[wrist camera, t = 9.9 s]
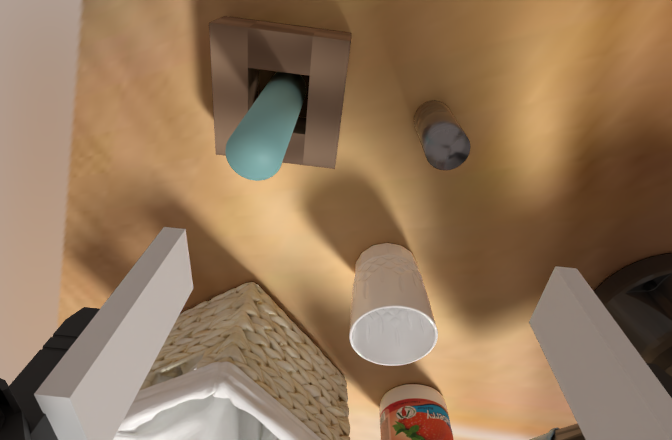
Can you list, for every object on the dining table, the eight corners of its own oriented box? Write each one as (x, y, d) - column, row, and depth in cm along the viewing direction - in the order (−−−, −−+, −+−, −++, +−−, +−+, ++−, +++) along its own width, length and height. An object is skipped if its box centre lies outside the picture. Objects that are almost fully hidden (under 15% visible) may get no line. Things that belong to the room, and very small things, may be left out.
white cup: (349, 238, 43) (348, 306, 34) (424, 237, 42) (442, 305, 34) (351, 293, 47) (350, 366, 38) (419, 293, 46) (433, 366, 38)
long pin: (305, 109, 35) (280, 183, 24) (268, 104, 35) (226, 176, 23) (308, 72, 34) (283, 131, 22) (270, 66, 33) (224, 123, 22)
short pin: (445, 138, 36) (463, 172, 30) (410, 133, 36) (421, 167, 30) (455, 103, 34) (476, 132, 29) (418, 98, 34) (431, 126, 28)
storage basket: (359, 383, 56) (360, 503, 44) (265, 414, 61) (242, 529, 48) (256, 265, 45) (219, 380, 33) (152, 314, 50) (86, 430, 38)
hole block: (336, 150, 37) (334, 168, 34) (228, 136, 37) (215, 154, 34) (351, 32, 32) (350, 41, 28) (224, 16, 31) (208, 22, 28)
